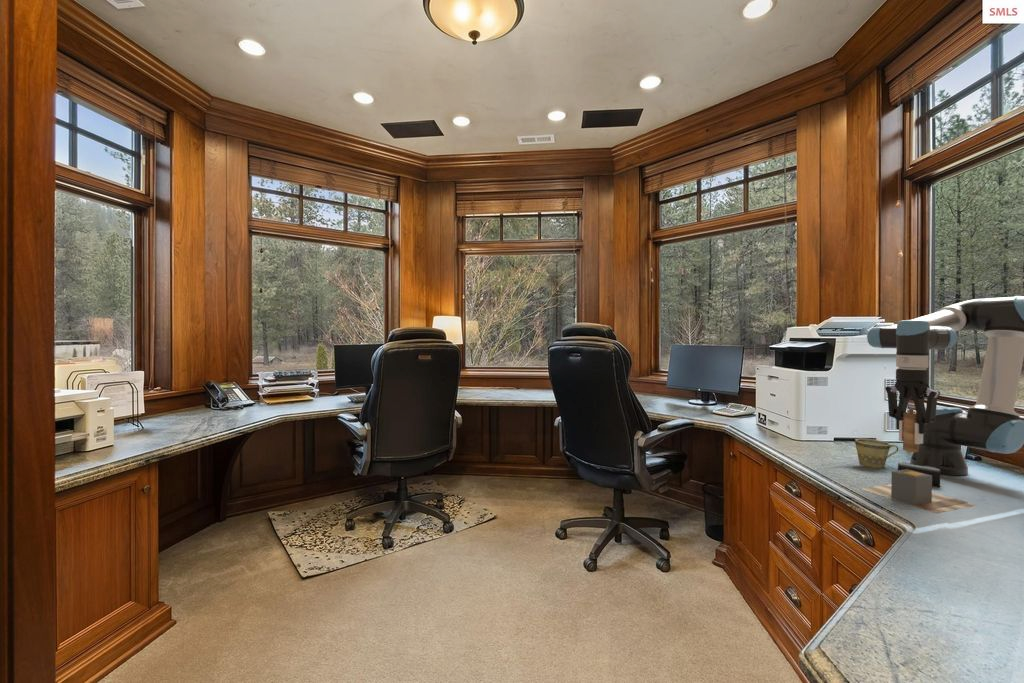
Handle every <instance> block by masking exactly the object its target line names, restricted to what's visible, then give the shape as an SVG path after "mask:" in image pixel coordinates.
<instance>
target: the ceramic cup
mask: <svg viewBox="0 0 1024 683" xmlns="http://www.w3.org/2000/svg"><path fill="white" fill-rule="evenodd" d="M854 441H855V448H856V452H857V458H858V464H859V466H861V467H868V468H873V469H884V468H885V466H886V462H887V459H888V458H890V457H891V456H892V455H894V454H896V453H897V452H899V447H898V446H897V445H895V444H890V443H889V442H887V441H884V440H879V439H874V438H873V439H870V438H855V440H854ZM893 447H895V448H896V450H895V451H894V452H891V453H890V454H889V452H890V449H891V448H893Z"/></svg>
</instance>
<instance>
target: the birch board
mask: <svg viewBox="0 0 1024 683" xmlns="http://www.w3.org/2000/svg"><path fill="white" fill-rule="evenodd" d="M891 484H892V483H890V484H884V485H875V486H869V487H862V488H861V490H863V491H866V492H868V493H872V494H875V495H879V496H881V497H884V498H887V499H891V500H894V501H897V502H900V503H904V504H906V505H909V506H913V507H916V508H919V509H922V510H926V511H928V512H932V513H935V514H940V513H945V512H951V511H956V510H962V509H966V508H971V507H976V506H977V504H973V503H970V502H968V501H964V500H961V499H958V498H957V499H956V498H952V497H949V496H946V495H942V494H939V493H935V492H932V503H926V504H921V505H912V504H908V503H905V502H902V501H899V500H896V499H893V498H891Z"/></svg>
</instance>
